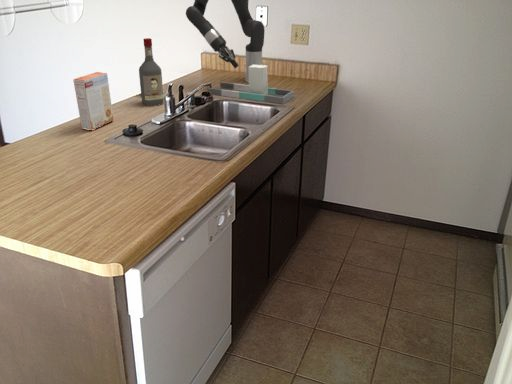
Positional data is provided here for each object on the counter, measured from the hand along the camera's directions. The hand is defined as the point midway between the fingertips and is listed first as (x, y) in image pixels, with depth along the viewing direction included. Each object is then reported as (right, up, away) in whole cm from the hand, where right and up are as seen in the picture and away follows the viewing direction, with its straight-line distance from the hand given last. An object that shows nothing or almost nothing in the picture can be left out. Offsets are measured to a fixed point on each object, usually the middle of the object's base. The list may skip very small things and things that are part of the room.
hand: (237, 66), depth 241 cm
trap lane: (+7, -14, +3) cm, 16 cm away
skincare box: (+11, -15, +1) cm, 19 cm away
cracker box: (-57, -36, -43) cm, 80 cm away
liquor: (-40, -21, -12) cm, 47 cm away
